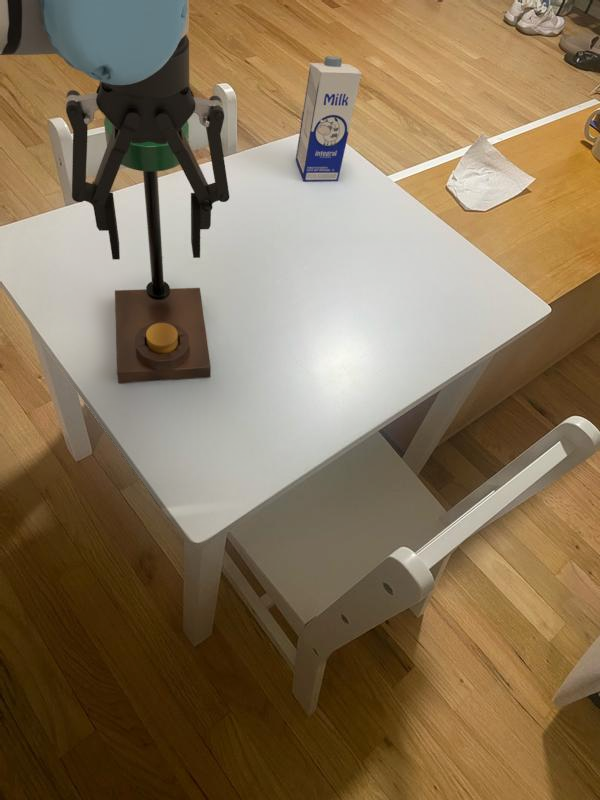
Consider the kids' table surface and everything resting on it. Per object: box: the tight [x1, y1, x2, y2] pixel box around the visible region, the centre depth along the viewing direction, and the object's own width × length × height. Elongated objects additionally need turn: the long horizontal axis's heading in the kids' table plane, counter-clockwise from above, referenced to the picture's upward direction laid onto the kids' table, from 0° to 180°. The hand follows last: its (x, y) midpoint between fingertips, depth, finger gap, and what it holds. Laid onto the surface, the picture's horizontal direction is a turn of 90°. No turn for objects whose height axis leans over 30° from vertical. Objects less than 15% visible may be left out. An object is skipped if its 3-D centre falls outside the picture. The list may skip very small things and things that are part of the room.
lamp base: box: [114, 287, 212, 384], centre depth 83 cm, size 12×15×4 cm
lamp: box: [103, 115, 190, 300], centre depth 74 cm, size 9×9×27 cm
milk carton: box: [295, 55, 363, 182], centre depth 105 cm, size 7×7×20 cm
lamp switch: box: [146, 323, 178, 354], centre depth 79 cm, size 4×4×2 cm
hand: (156, 250), depth 67 cm, fingers open, 8 cm apart
